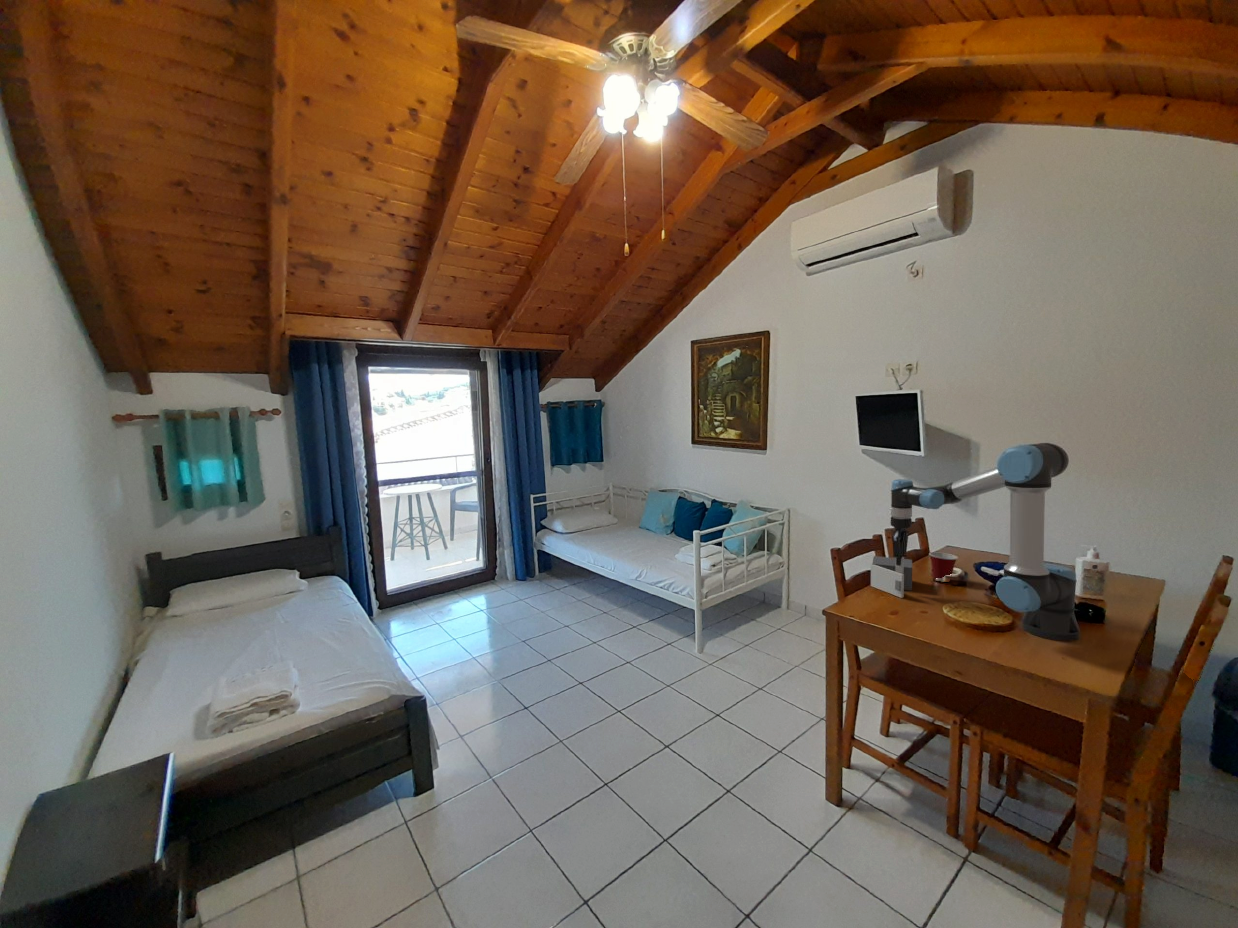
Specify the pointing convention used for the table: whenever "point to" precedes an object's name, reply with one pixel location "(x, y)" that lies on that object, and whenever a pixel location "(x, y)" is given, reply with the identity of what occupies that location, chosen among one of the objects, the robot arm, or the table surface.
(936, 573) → the plastic cup
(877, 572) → the side door
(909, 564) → the grey box with door
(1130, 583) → the table surface
